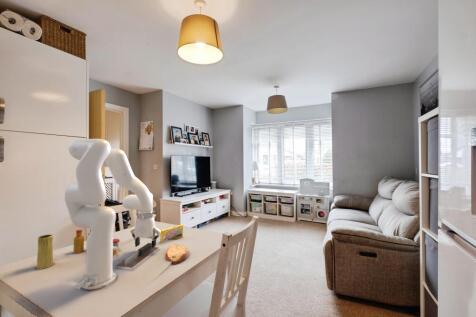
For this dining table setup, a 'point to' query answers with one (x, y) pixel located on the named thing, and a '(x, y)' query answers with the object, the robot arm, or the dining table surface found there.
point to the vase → (45, 252)
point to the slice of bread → (176, 253)
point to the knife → (138, 253)
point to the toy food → (80, 243)
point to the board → (137, 259)
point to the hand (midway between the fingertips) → (145, 246)
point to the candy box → (171, 233)
